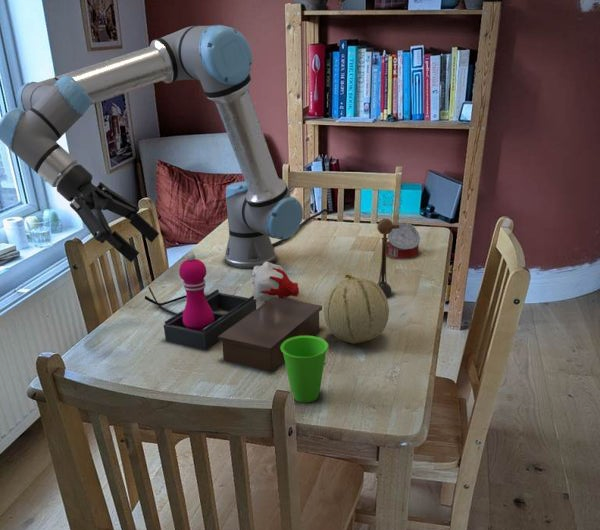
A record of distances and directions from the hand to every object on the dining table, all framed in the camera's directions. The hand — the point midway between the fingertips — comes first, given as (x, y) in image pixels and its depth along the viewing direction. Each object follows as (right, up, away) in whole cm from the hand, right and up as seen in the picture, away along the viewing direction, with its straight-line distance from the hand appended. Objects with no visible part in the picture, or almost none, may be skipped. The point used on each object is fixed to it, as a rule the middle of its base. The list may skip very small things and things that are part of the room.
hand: (145, 247), depth 140 cm
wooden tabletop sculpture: (+56, -6, +28) cm, 63 cm away
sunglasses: (+2, -10, +25) cm, 27 cm away
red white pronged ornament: (+27, -7, +27) cm, 39 cm away
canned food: (+65, +11, +56) cm, 87 cm away
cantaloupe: (+47, -20, +6) cm, 51 cm away
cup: (+35, -33, -15) cm, 50 cm away
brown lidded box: (+28, -21, +5) cm, 35 cm away
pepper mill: (+10, -19, +10) cm, 23 cm away
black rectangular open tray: (+13, -16, +14) cm, 25 cm away
